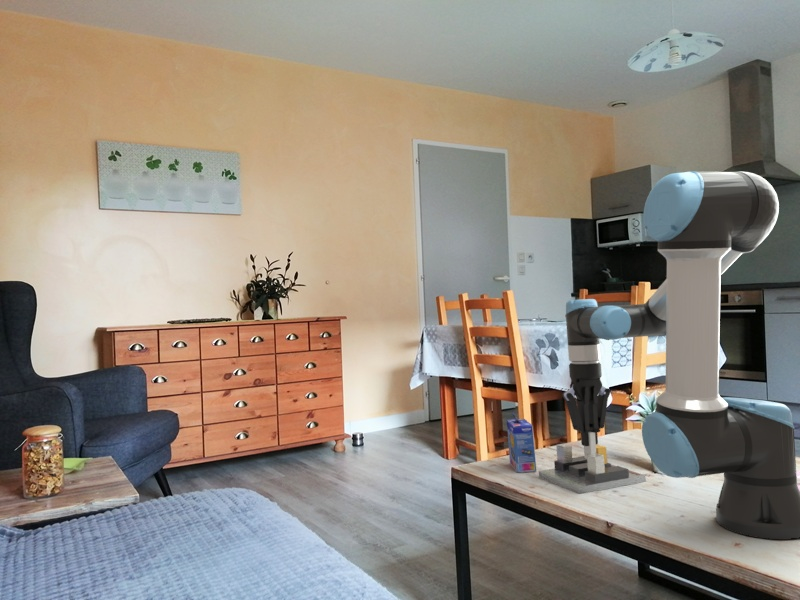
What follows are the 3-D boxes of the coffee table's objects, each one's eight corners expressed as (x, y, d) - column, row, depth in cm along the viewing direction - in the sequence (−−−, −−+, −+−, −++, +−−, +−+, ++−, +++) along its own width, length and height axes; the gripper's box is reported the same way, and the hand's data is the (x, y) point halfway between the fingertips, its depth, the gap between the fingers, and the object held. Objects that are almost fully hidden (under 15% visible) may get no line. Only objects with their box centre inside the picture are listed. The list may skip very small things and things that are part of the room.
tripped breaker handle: (607, 463, 145) (606, 447, 145) (599, 464, 144) (598, 448, 144) (599, 460, 148) (598, 444, 148) (591, 462, 147) (590, 445, 147)
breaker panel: (645, 481, 141) (643, 449, 141) (579, 493, 134) (577, 460, 134) (600, 466, 156) (598, 437, 156) (538, 477, 149) (537, 447, 149)
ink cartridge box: (508, 463, 164) (505, 411, 164) (528, 462, 164) (525, 410, 164) (515, 473, 154) (512, 417, 154) (537, 472, 154) (533, 415, 155)
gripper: (596, 359, 152) (602, 452, 151) (553, 363, 147) (558, 459, 147) (616, 360, 145) (622, 458, 144) (571, 365, 140) (577, 465, 140)
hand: (590, 458), depth 145 cm, fingers closed
